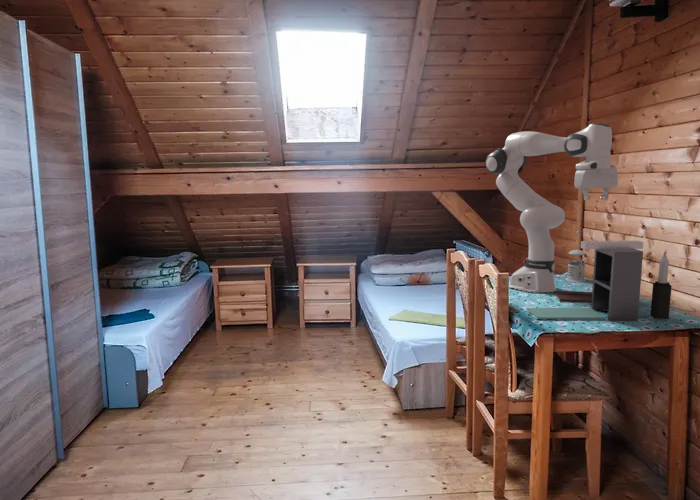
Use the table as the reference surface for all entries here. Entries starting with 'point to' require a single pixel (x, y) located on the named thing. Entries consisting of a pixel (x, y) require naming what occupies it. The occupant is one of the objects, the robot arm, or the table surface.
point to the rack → (617, 283)
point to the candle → (661, 292)
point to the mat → (566, 313)
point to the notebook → (574, 296)
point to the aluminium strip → (611, 244)
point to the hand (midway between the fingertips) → (595, 199)
